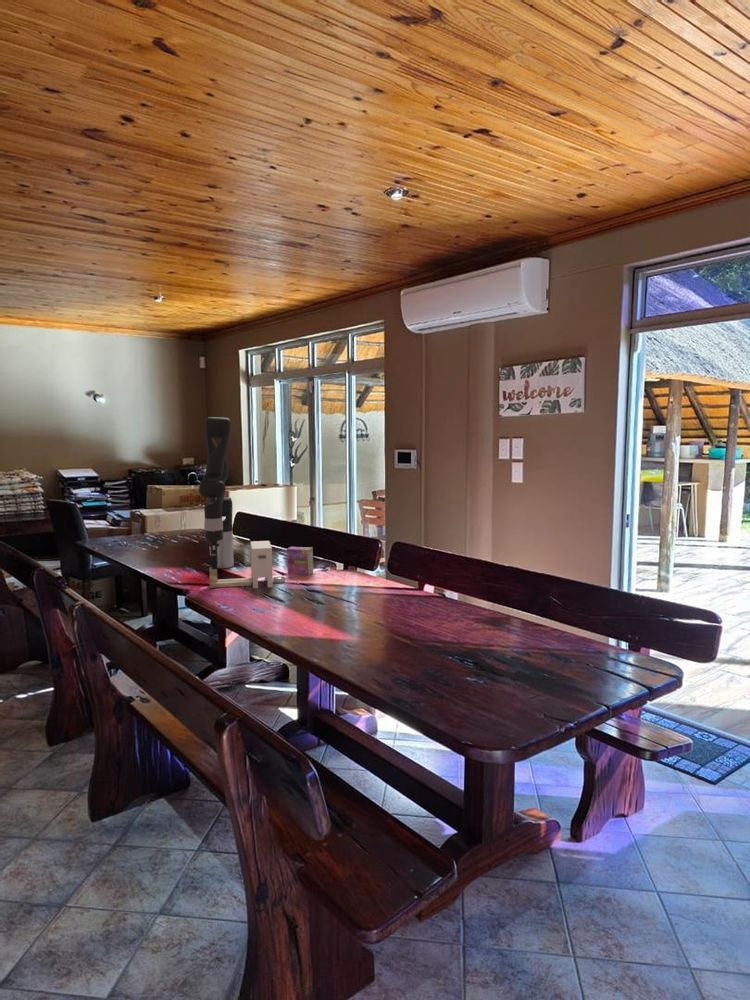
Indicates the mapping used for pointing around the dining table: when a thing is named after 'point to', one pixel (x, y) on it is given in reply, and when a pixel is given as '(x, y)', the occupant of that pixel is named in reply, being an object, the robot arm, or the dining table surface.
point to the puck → (279, 579)
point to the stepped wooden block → (227, 580)
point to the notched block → (261, 562)
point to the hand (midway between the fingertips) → (214, 566)
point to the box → (300, 560)
